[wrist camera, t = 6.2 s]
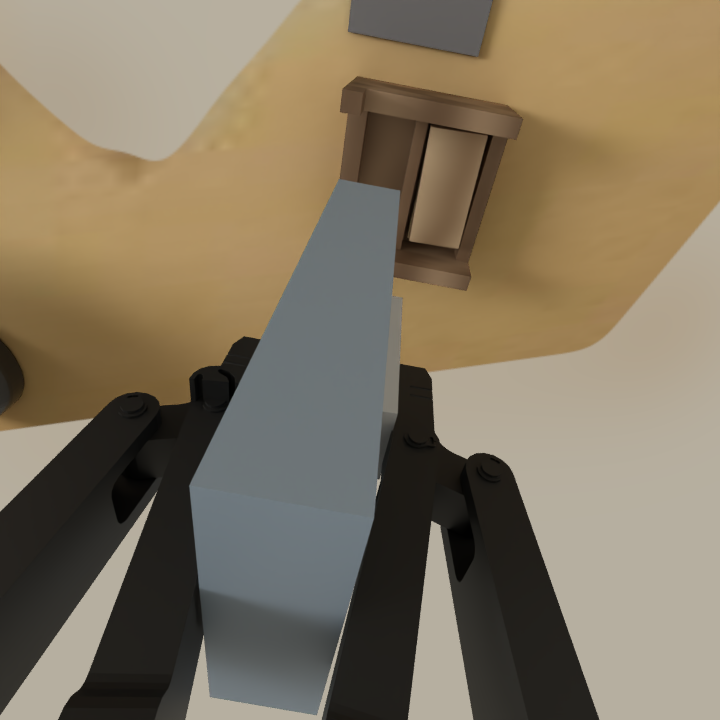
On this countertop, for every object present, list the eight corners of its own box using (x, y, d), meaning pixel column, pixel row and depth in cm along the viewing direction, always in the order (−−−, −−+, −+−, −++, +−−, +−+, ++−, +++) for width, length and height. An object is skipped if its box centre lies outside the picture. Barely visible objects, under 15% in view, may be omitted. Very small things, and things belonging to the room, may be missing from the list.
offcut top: (409, 234, 37) (409, 241, 36) (430, 123, 32) (431, 127, 31) (457, 241, 37) (458, 248, 36) (485, 131, 32) (487, 135, 31)
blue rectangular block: (319, 336, 24) (210, 696, 11) (339, 179, 19) (189, 485, 6) (368, 345, 24) (316, 714, 11) (400, 190, 19) (373, 517, 6)
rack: (336, 235, 40) (320, 276, 34) (357, 76, 33) (342, 88, 27) (460, 259, 40) (469, 304, 34) (507, 105, 33) (530, 125, 27)
